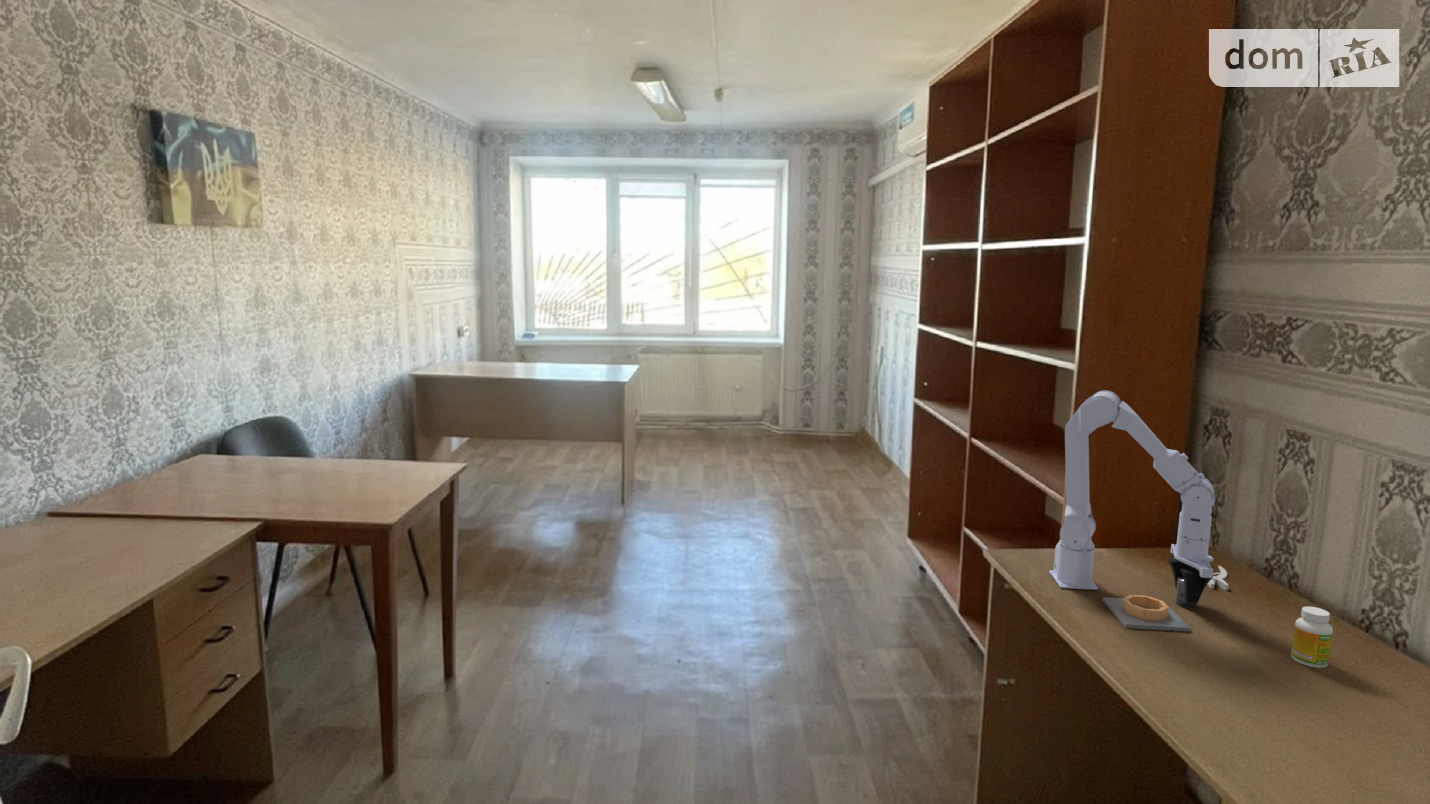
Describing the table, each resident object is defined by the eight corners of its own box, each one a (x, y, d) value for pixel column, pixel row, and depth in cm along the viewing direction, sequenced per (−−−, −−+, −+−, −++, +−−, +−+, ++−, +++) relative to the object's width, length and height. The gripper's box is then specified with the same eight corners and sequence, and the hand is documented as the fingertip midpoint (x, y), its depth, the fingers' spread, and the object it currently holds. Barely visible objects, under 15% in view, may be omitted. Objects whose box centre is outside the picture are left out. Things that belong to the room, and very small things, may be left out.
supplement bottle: (1318, 671, 136) (1325, 619, 135) (1284, 658, 141) (1291, 608, 139) (1334, 664, 139) (1341, 613, 137) (1300, 651, 143) (1307, 602, 142)
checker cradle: (1102, 600, 166) (1103, 588, 165) (1162, 604, 164) (1163, 591, 163) (1125, 627, 153) (1126, 614, 152) (1190, 631, 151) (1191, 618, 151)
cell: (1171, 600, 166) (1174, 573, 165) (1191, 601, 165) (1194, 574, 164) (1180, 607, 162) (1183, 581, 161) (1200, 609, 161) (1203, 582, 160)
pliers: (1222, 562, 184) (1245, 586, 170) (1221, 569, 184) (1244, 593, 170) (1175, 558, 187) (1195, 581, 172) (1175, 564, 187) (1194, 588, 173)
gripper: (1232, 549, 154) (1224, 613, 156) (1197, 525, 168) (1191, 584, 170) (1193, 547, 155) (1187, 611, 157) (1163, 524, 169) (1157, 583, 171)
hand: (1187, 597), depth 163 cm, fingers closed on cell, 4 cm apart
